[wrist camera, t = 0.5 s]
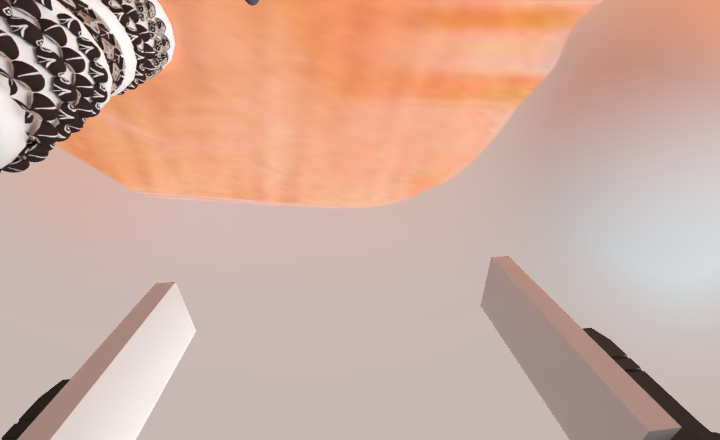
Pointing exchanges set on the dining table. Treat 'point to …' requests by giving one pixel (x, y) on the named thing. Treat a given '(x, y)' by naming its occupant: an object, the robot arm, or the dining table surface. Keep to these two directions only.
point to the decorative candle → (71, 66)
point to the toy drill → (252, 2)
